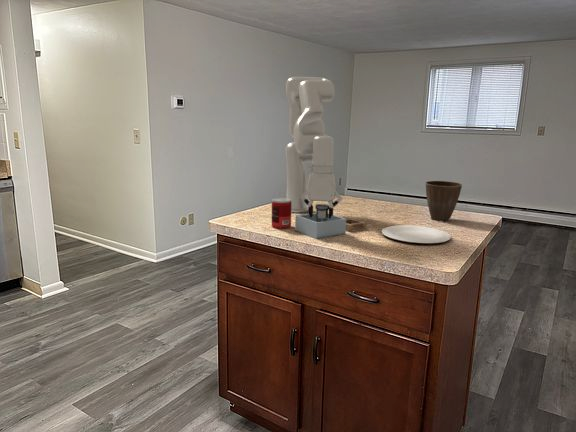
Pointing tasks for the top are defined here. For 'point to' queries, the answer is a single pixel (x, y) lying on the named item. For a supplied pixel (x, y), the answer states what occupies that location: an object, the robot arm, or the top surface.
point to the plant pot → (442, 198)
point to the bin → (320, 226)
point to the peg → (321, 212)
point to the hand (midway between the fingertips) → (320, 216)
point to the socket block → (354, 225)
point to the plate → (416, 234)
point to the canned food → (281, 213)
